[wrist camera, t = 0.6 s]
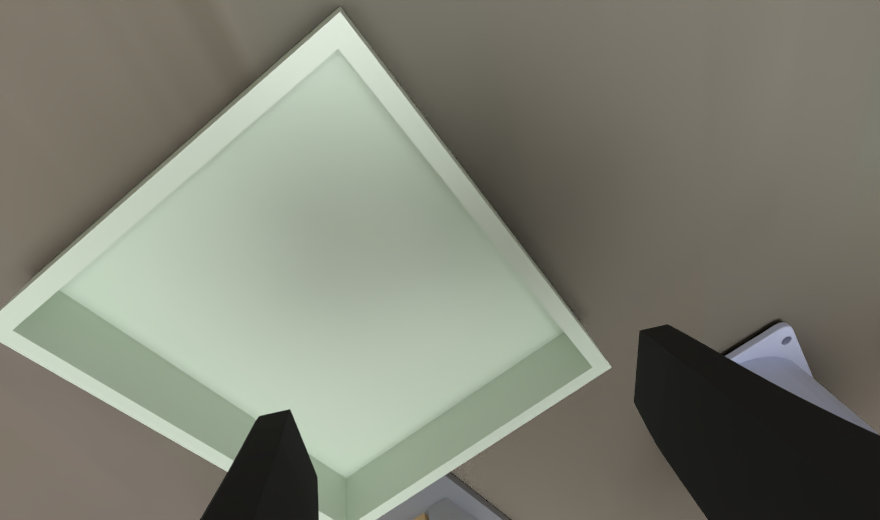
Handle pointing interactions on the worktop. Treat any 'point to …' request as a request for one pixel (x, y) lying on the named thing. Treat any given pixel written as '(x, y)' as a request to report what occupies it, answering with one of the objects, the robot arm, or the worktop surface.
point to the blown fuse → (422, 517)
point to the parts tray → (312, 289)
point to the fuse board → (445, 503)
